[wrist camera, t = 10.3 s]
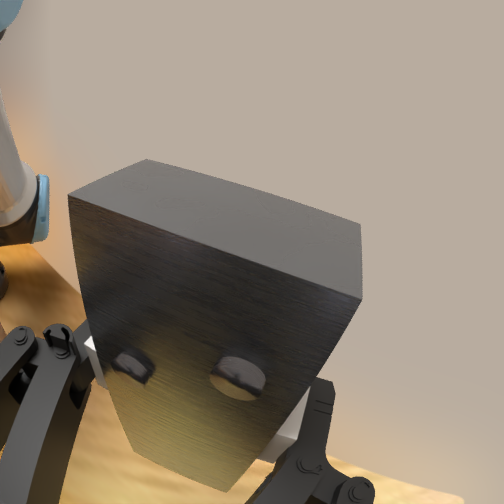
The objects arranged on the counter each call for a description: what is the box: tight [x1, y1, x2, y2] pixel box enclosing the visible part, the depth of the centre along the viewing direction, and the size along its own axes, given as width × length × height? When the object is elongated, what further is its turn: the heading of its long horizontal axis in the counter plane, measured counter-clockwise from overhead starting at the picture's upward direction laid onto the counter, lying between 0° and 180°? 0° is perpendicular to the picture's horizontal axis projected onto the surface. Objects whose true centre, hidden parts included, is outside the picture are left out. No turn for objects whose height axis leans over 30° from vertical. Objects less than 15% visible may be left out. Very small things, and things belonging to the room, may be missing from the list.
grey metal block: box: [68, 159, 362, 493], centre depth 10 cm, size 4×6×16 cm, turn 72°
